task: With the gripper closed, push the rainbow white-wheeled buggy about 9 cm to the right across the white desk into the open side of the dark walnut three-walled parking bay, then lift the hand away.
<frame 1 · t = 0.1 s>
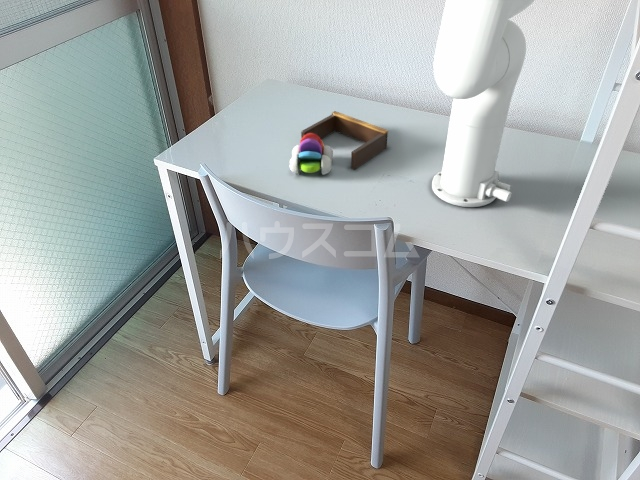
rainbow white-wheeled buggy: (311, 168, 109), on the table
garage: (341, 149, 114), on the table
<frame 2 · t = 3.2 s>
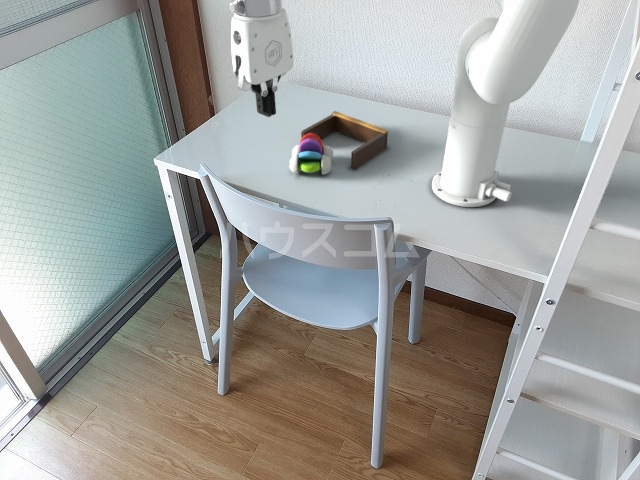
hand: (266, 113, 92), 16 cm above the table, tool pointing down, fingers closed
nothing on the table moved.
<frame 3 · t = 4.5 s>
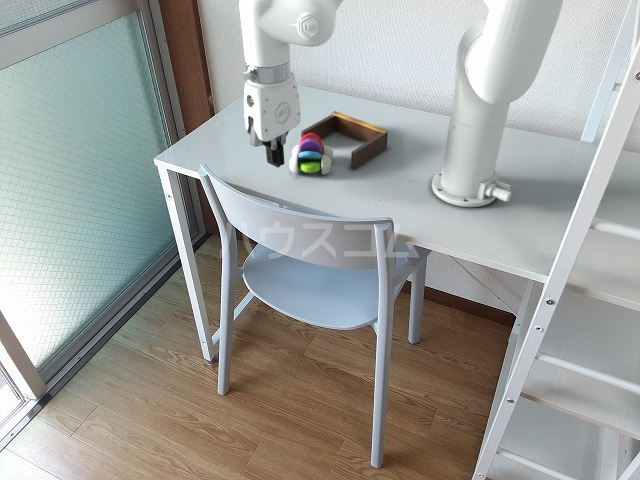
hand: (275, 163, 99), 6 cm above the table, tool pointing down, fingers closed
nothing on the table moved.
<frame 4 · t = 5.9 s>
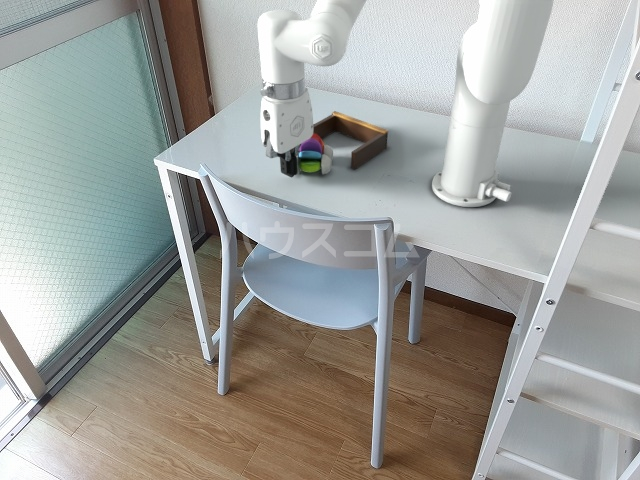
hand: (289, 173, 104), 2 cm above the table, tool pointing down, fingers closed
rainbow white-wheeled buggy: (312, 168, 109), on the table, touching gripper
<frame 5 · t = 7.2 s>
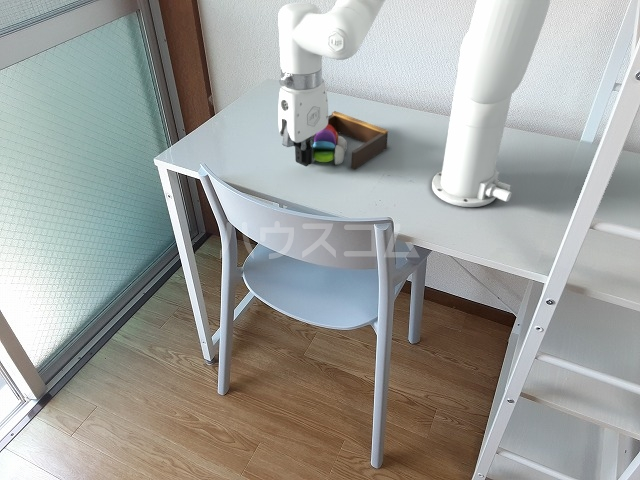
hand: (303, 162, 107), 2 cm above the table, tool pointing down, fingers closed
rainbow white-wheeled buggy: (325, 158, 112), on the table, touching gripper
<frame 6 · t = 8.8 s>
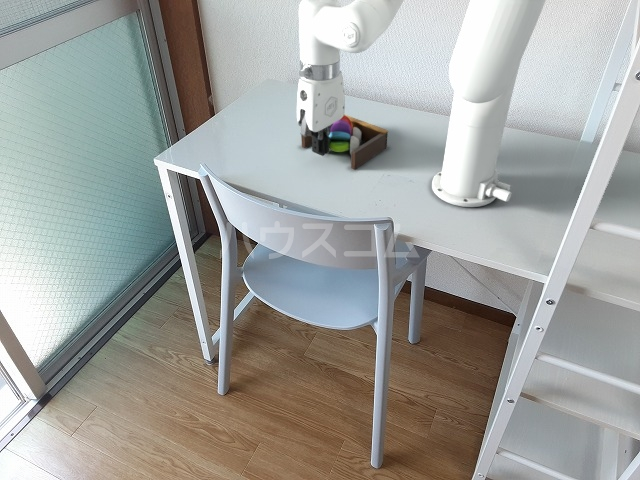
hand: (320, 152, 110), 2 cm above the table, tool pointing down, fingers closed
rainbow white-wheeled buggy: (340, 149, 115), on the table, touching gripper
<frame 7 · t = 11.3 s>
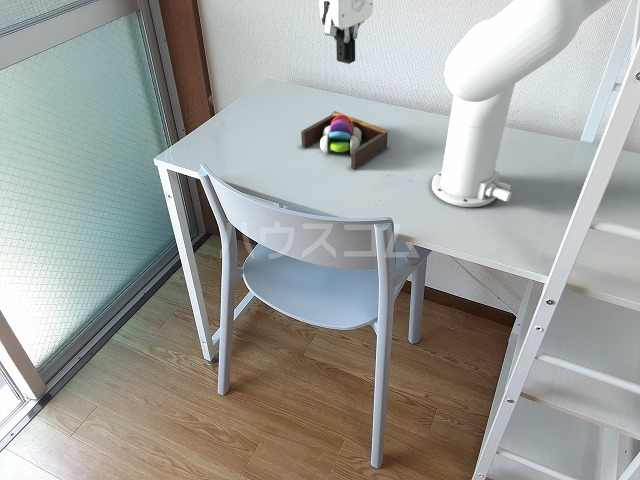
hand: (346, 61, 97), 21 cm above the table, tool pointing down, fingers closed
rainbow white-wheeled buggy: (341, 148, 115), on the table
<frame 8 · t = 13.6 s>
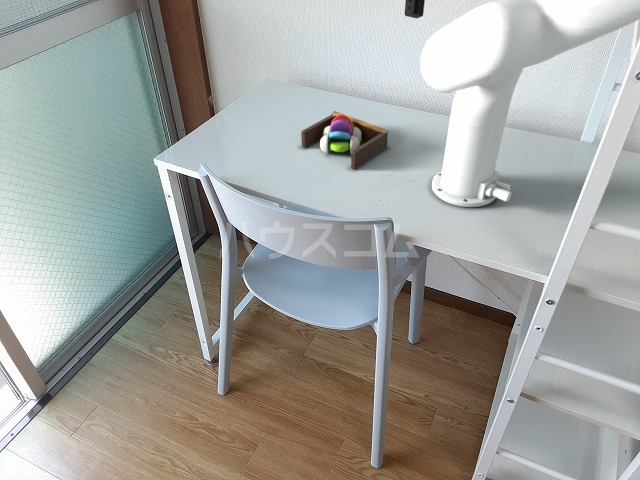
hand: (413, 16, 99), 27 cm above the table, tool pointing down, fingers closed
nothing on the table moved.
at the end: rainbow white-wheeled buggy inside the target area on the garage (0.7 cm from its centre), point 0.0 cm above the garage's base; rainbow white-wheeled buggy tilted 0°; rainbow white-wheeled buggy moved 10.2 cm from its start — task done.
